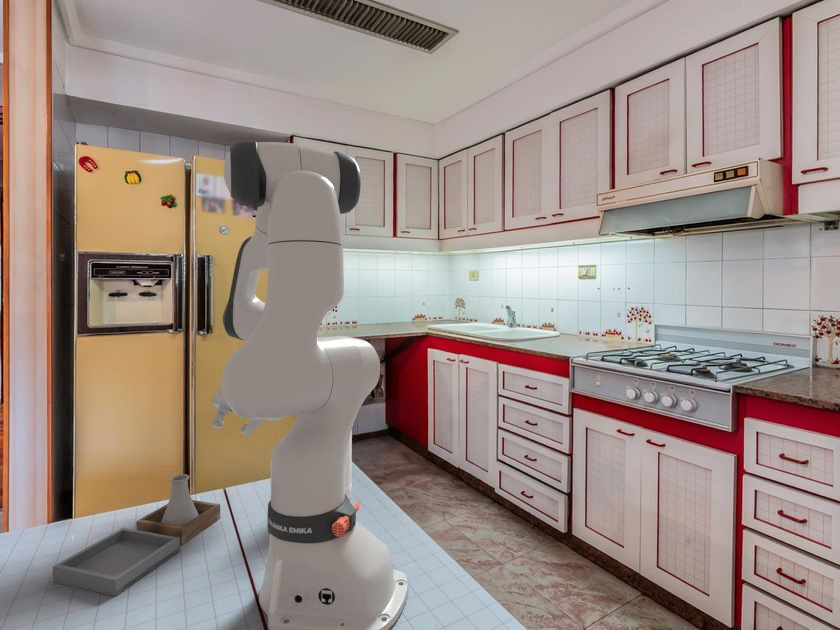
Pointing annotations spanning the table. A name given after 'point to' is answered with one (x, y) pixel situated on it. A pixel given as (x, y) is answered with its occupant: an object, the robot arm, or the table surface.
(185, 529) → the shaker holder
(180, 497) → the flask
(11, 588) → the table surface
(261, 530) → the table surface
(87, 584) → the tray
